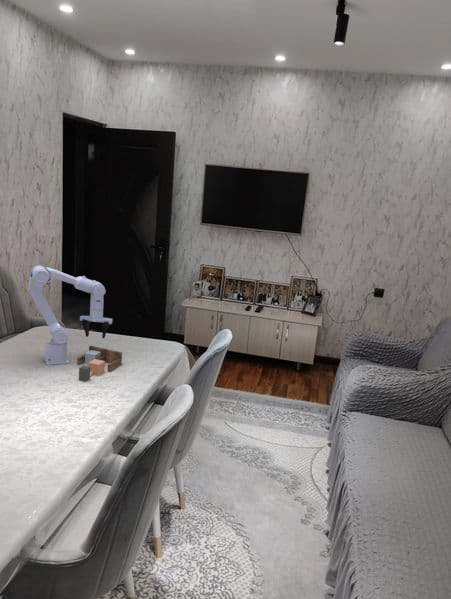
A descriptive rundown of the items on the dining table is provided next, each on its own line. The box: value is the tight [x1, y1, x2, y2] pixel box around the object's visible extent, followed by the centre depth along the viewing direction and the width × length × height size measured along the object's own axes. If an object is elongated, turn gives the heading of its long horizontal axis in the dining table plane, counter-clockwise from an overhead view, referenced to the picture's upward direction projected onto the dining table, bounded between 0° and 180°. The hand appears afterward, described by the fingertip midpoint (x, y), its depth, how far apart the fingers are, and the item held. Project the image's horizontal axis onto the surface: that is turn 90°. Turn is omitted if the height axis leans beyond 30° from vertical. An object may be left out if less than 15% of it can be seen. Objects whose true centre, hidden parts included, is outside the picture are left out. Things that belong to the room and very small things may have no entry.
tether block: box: [78, 359, 106, 382], centre depth 195 cm, size 5×13×6 cm, turn 163°
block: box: [84, 350, 101, 365], centre depth 210 cm, size 5×5×5 cm
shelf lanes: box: [76, 345, 123, 373], centre depth 209 cm, size 17×10×6 cm, turn 73°
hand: (95, 336), depth 214 cm, fingers open, 7 cm apart
